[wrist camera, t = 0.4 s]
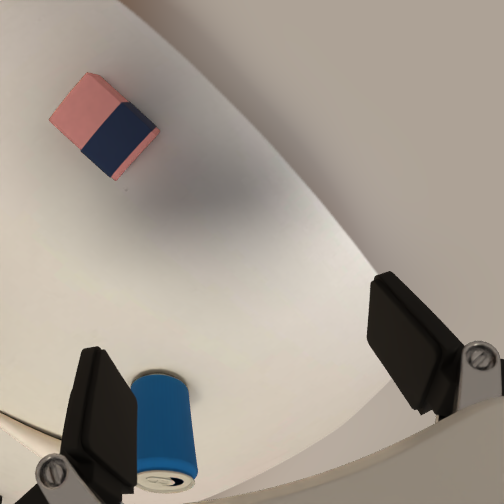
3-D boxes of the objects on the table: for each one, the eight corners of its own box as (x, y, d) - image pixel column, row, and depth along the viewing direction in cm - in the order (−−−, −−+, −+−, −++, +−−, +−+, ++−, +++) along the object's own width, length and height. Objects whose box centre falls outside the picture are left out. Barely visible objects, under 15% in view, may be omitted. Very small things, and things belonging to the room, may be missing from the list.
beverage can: (176, 409, 35) (185, 497, 24) (124, 396, 32) (121, 488, 22) (196, 377, 33) (210, 475, 22) (139, 361, 30) (136, 464, 20)
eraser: (63, 117, 19) (47, 120, 16) (99, 74, 18) (87, 70, 16) (123, 171, 22) (115, 182, 19) (161, 130, 21) (157, 135, 19)
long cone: (-12, 375, 30) (102, 449, 36) (-17, 391, 31) (86, 458, 38) (-29, 405, 24) (94, 481, 31) (-32, 418, 26) (79, 486, 33)
